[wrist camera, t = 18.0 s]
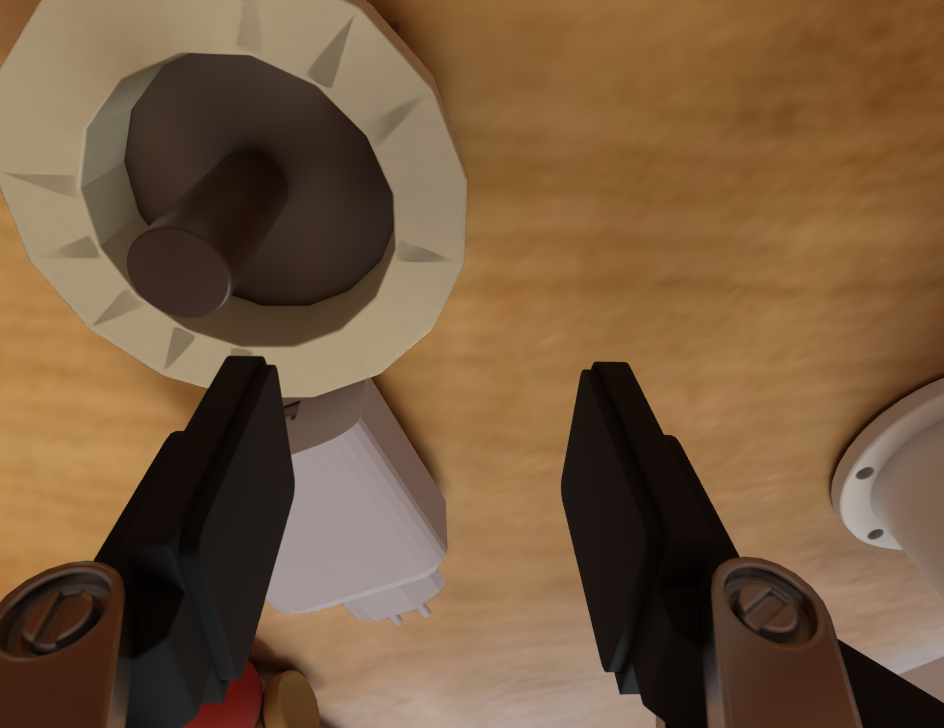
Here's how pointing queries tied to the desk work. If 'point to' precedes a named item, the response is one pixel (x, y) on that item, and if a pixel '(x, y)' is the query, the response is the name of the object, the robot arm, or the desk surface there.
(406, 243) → the tape
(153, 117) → the stand
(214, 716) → the kendama
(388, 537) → the charger
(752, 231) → the desk surface
